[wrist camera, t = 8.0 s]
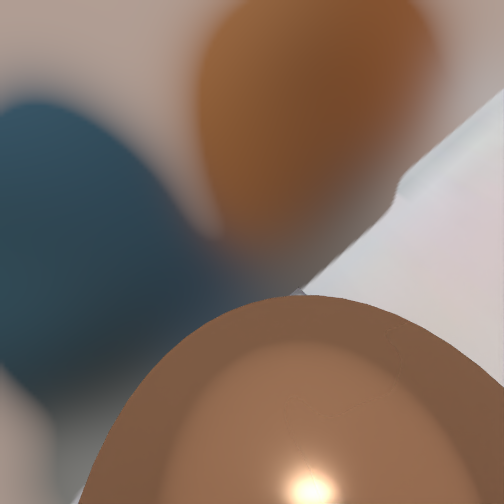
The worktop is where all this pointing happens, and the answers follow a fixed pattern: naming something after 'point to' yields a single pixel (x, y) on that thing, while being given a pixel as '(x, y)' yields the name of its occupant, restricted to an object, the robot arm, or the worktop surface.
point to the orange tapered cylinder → (307, 415)
